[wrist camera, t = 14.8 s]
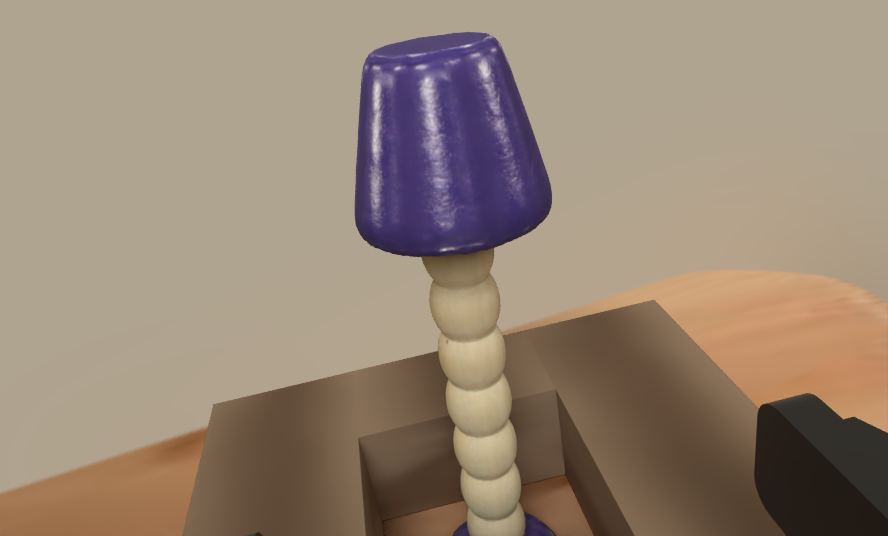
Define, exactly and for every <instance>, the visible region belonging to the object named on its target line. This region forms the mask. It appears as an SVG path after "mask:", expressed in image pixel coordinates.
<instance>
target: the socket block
mask: <svg viewBox="0 0 888 536" xmlns="http://www.w3.org/2000/svg"><path fill="white" fill-rule="evenodd" d="M503 339H504V343H505V349H506V360H505V366H504V370H503V372H502V373H503V374H504V375H505V377H506V379H507V381H508V384H509V387H510V390H511V396H512V406H511V412H510V415H509V418H508V419H509V420H510V422H511V423H512V425H513V427H514V430H515V434H516V438H517V452H516V457H515V460H514V462H515V464H516V466H517V468H518V470H519V474H520V479H521V485H525V484H528V483H532V482H536V481H540V480H544V479H548V478H552V477H556V476H560V475H564V474H566V476H567V479H568V481H569V483H570V485H571V487H572V489H573V491H574V494H575V496H576V498H577V500H578V502H579V504H580V506H581V508H582V511H583V513H584V515H585V517H586V519H587V521H588V523H589V526H590V528H591V530H592V532H593V534H594V536H786V535H785V534H784V532H783V531H782V530H781V529H780V527H779V526H778V525H777V524H776V522H775V521H774V520H773V519H772V517H771V516H770V515H769V513H768V512H767V510H766V509H765V507H764V505H763V503H762V501H761V499H760V497H759V494H758V492H757V488H756V485H755V479H754V466H755V447H756V429H757V414H758V410H759V408H758V407H757V406H756V405H755V404H754V403H753V402H752V401H751V400H750V399H749V398H748V397H747V396H746V395H745V394H744V393H743V392H742V391H741V390H740V389H739V388H738V387H737V386H736V384H735V383H734V382H733V381H732V380H731V379H730V378H729V377H728V376H727V375H726V374H725V373H724V372H723V371H722V370H721V369H720V368H719V367H718V366H717V365H716V364H715V363H714V362H713V360H712V359H711V358H710V357H709V356H708V355H707V354H706V353H705V352H704V351H703V350H702V349H701V348H700V347H699V346H698V345H697V344H696V343H695V342H694V341H693V340H692V339H691V338H690V337H689V335H688V334H687V333H686V332H685V331H684V330H683V329H682V328H681V327H680V326H679V325H678V324H677V323H676V322H675V321H674V320H673V319H672V318H671V317H670V316H669V315H668V314H667V313H666V311H665V310H664V309H663V308H662V307H661V306H660V305H659V304H658V303H657V302H656V301H655V300H651V301H647V302H643V303H639V304H635V305H630V306H626V307H622V308H618V309H613V310H609V311H605V312H601V313H597V314H592V315H588V316H584V317H580V318H576V319H571V320H567V321H563V322H559V323H555V324H550V325H546V326H542V327H538V328H533V329H529V330H525V331H521V332H517V333H512V334H508V335H504V336H503ZM447 382H448V378H447V376H446V375H445V373H444V371H443V369H442V367H441V363H440V360H439V353H438V351H437V352H433V353H428V354H424V355H420V356H416V357H411V358H407V359H403V360H399V361H395V362H390V363H387V364H382V365H378V366H374V367H370V368H365V369H361V370H357V371H353V372H348V373H344V374H340V375H336V376H332V377H328V378H323V379H319V380H315V381H311V382H306V383H302V384H298V385H294V386H289V387H285V388H281V389H277V390H273V391H268V392H264V393H260V394H256V395H252V396H248V397H243V398H239V399H235V400H231V401H226V402H222V403H218V404H214V405H213V409H212V413H211V417H210V422H209V426H208V430H207V434H206V438H205V442H204V447H203V451H202V455H201V459H200V464H199V468H198V472H197V476H196V481H195V485H194V489H193V493H192V497H191V502H190V506H189V510H188V514H187V519H186V523H185V527H184V531H183V535H182V536H245V535H249V534H253V533H257V532H260V533H261V534H262V535H263V536H384V530H383V521H384V520H388V519H391V518H395V517H399V516H403V515H407V514H411V513H415V512H419V511H423V510H427V509H431V508H435V507H438V506H442V505H446V504H450V503H454V502H458V501H462V500H464V497H463V495H462V491H461V471H462V466H461V465H460V463H459V461H458V459H457V457H456V454H455V450H454V443H453V437H454V430H455V426H456V425H455V424H454V422H453V421H452V419H451V417H450V415H449V412H448V409H447V403H446V386H447Z"/></svg>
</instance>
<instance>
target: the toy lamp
mask: <svg viewBox="0 0 888 536" xmlns="http://www.w3.org/2000/svg"><path fill="white" fill-rule="evenodd" d="M356 164H357V165H356V190H355V221H356V226H357V229H358V231H359V233H360V235H361V236H362V238H363V239H364V240H365V241H367V242H368V243H369V244H370V245H371V246H374V247H375V248H379V249H381V250H383V251H386V252H390V253H392V254H397V255H402V256H413V257H422V260H423V264H424V266H425V268H426V270H427V271H428V273H429V275H430V276H431V277H432V279H433V282H432V284H431V290H430V301H429V302H430V308H431V313H432V316H433V318H434V321H435V322H436V324H437V326H438V328H439V329H440V330H441V334H440V337H439V343H438V344H439V345H438V353H439V360H440V363H441V367H442V369H443V371H444V373H445V375H446V376H447V378H448V382H447V386H446V403H447V409H448V412H449V415H450V417H451V419H452V421H453V422H454V424H455V425H456V426H455V430H454V437H453V443H454V450H455V454H456V457H457V459H458V461H459V463H460V465H461V466H462V471H461V491H462V495H463V497H464V500H465V502H466V504H467V506H468V511H467V521H466V522H465V523H464V524H462V525H461V526H460V527H459V528H458V529H457V530H456V531H455V532H454V534H453V536H556V535H555V534H554V533H553V531H552V530H551V529H550V528H549V527H547V526H546V525H545V524H544V523H543V522H541V521H540V520H538V519H537V518H536V517H534V516H532V515H529V514H527V513H524V511H523V509H522V506H521V504H520V502H519V499H520V494H521V479H520V474H519V470H518V468H517V466H516V464H515V462H514V460H515V457H516V452H517V438H516V434H515V430H514V427H513V425H512V423H511V422H510V420H509V419H508V418H509V415H510V412H511V406H512V396H511V390H510V387H509V384H508V381H507V379H506V377H505V375H504V374H503V373H502V372H503V370H504V366H505V360H506V349H505V343H504V339H503V335H502V333H501V331H500V329H499V328H498V326H497V325H496V323H497V320H498V317H499V313H500V296H499V291H498V287H497V285H496V282H495V280H494V278H493V277H492V275H491V274H490V273H489V271H490V269H491V267H492V264H493V259H494V248H495V247H497V246H500V245H503V244H505V243H507V242H510V241H512V240H514V239H517V238H519V237H521V236H523V235H525V234H527V233H529V232H530V231H532V230H533V229H535V228H536V227H537V226H538V225H539V224H540V223H541V222H543V220H544V219H545V218H546V217H547V215H548V214H549V211H550V209H551V204H552V192H551V186H550V182H549V178H548V174H547V172H546V169H545V166H544V163H543V160H542V157H541V154H540V151H539V148H538V145H537V142H536V139H535V136H534V133H533V130H532V128H531V124H530V122H529V119H528V116H527V113H526V110H525V107H524V105H523V102H522V99H521V96H520V94H519V91H518V88H517V85H516V83H515V80H514V77H513V74H512V71H511V68H510V65H509V62H508V60H507V57H506V55H505V53H504V51H503V49H502V46H501V44H500V43H499V42H498V41H497V40H496V38H494V37H492V36H490V35H489V34H486V33H476V32H465V33H452V34H445V35H438V36H430V37H422V38H416V39H412V40H408V41H404V42H399V43H394V44H390V45H387V46H384V47H381V48H379V49H376V50H374V51H373V52H371V53H370V54H369V55H368V57H367V59H366V61H365V64H364V66H363V72H362V81H361V95H360V111H359V127H358V149H357V163H356Z"/></svg>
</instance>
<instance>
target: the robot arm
mask: <svg viewBox="0 0 888 536" xmlns="http://www.w3.org/2000/svg"><path fill="white" fill-rule="evenodd" d="M754 479H755V485H756V488H757V492H758V494H759V497H760V499H761V501H762V503H763V505H764V507H765V509H766V510H767V512H768V513H769V515H770V516H771V517H772V519H773V520H774V521H775V522H776V524H777V525H778V526H779V527H780V529H781V530H782V531H783V532H784V534H785V535H786V536H888V433H887V432H884V431H882V430H880V429H878V428H876V427H874V426H872V425H870V424H868V423H866V422H864V421H862V420H860V419H857V418H855V417H851V418H847V419H844V420H843V419H842V418H841V417H840V416H839V415H838V414H836V413H835V412H834V411H833V410H832V409H831V408H830V407H829V406H827V405H826V404H825V403H824V402H823V401H822V400H821V399H819V398H818V397H817V396H815V395H813V394H810V393H806V394H802V395H798V396H794V397H790V398H786V399H782V400H778V401H775V402H771V403H767V404H763V405H762V406H760V408H759V410H758V414H757V429H756V447H755V466H754ZM245 536H263V535H262V534H261V533H260V532H257V533H253V534H249V535H245Z"/></svg>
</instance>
